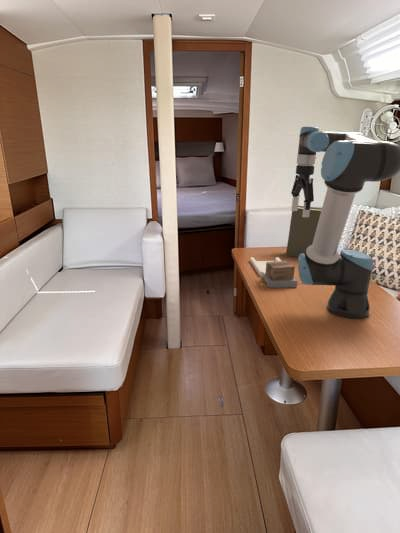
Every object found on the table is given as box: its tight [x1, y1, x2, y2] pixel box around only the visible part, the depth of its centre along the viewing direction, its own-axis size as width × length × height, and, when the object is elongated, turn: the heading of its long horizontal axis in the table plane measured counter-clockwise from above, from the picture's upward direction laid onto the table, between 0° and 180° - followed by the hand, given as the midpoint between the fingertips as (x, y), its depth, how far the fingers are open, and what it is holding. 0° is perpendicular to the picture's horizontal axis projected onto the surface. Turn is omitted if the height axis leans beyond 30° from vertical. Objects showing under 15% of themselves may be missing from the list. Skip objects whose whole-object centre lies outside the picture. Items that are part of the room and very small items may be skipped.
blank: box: [265, 260, 296, 281], centre depth 165 cm, size 8×10×6 cm
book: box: [286, 204, 322, 259], centre depth 200 cm, size 22×9×28 cm, turn 79°
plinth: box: [262, 273, 298, 288], centre depth 166 cm, size 10×13×3 cm
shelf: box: [249, 256, 282, 277], centre depth 182 cm, size 22×15×3 cm
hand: (299, 213), depth 164 cm, fingers open, 13 cm apart
